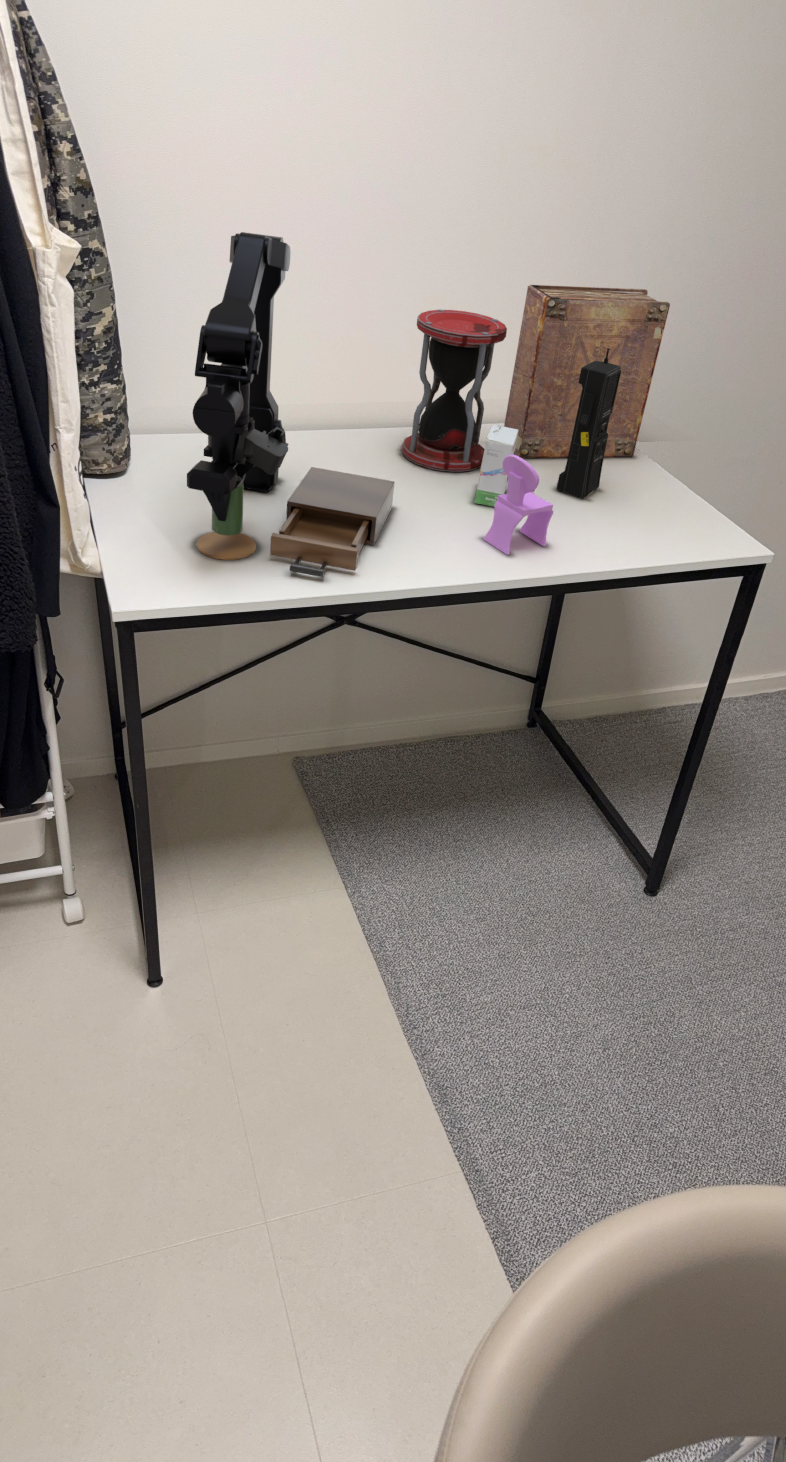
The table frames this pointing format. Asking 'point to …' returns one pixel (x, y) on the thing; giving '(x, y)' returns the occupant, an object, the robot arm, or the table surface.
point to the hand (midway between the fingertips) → (227, 514)
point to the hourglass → (452, 389)
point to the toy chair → (519, 506)
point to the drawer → (320, 540)
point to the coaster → (226, 546)
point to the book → (581, 364)
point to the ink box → (495, 464)
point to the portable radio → (590, 428)
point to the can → (231, 514)
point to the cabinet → (345, 497)
